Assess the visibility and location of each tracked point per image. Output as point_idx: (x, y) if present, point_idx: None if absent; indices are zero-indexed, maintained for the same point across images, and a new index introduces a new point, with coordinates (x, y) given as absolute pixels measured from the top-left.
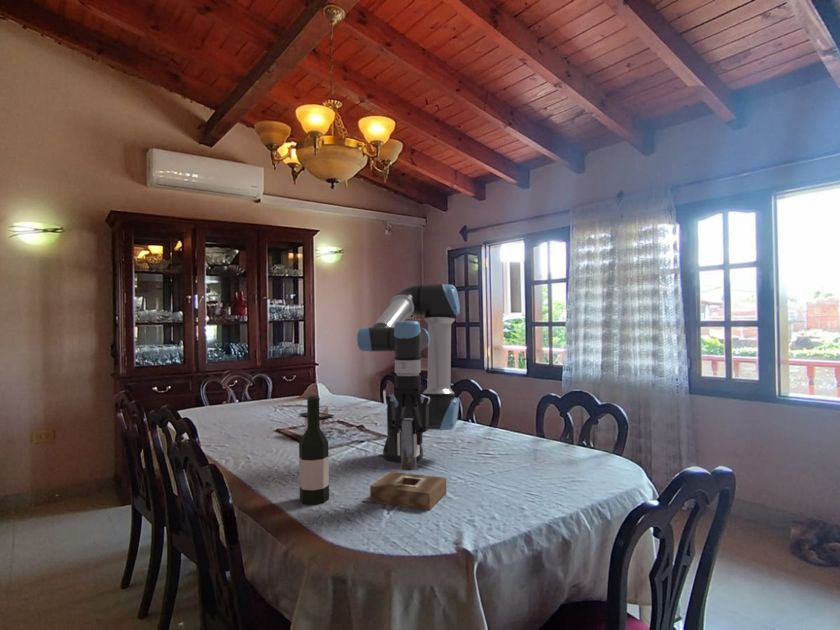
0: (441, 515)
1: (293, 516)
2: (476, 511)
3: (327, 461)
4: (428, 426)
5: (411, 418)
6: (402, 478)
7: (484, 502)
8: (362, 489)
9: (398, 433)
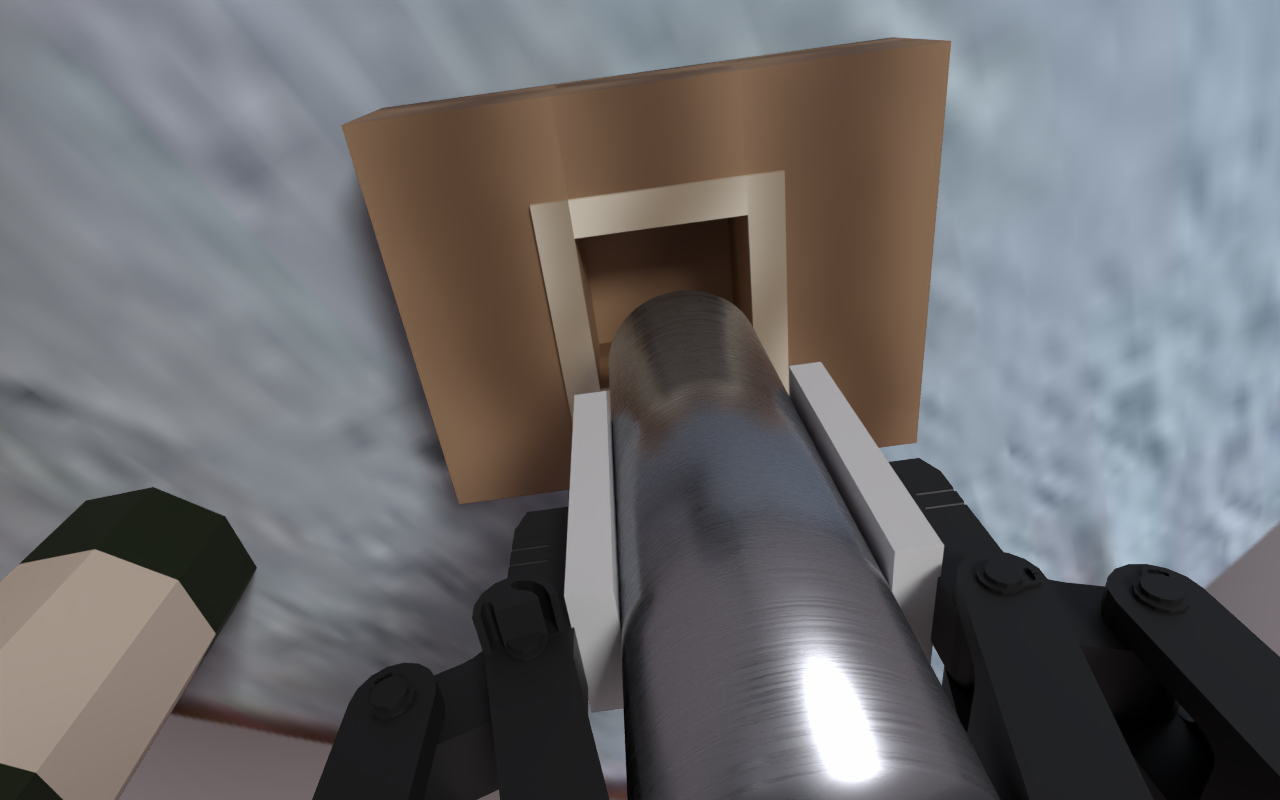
0: (961, 418)
1: (288, 717)
2: (1162, 276)
3: (77, 744)
4: (1236, 631)
5: (856, 794)
6: (580, 274)
7: (1218, 93)
8: (242, 282)
9: (611, 699)
